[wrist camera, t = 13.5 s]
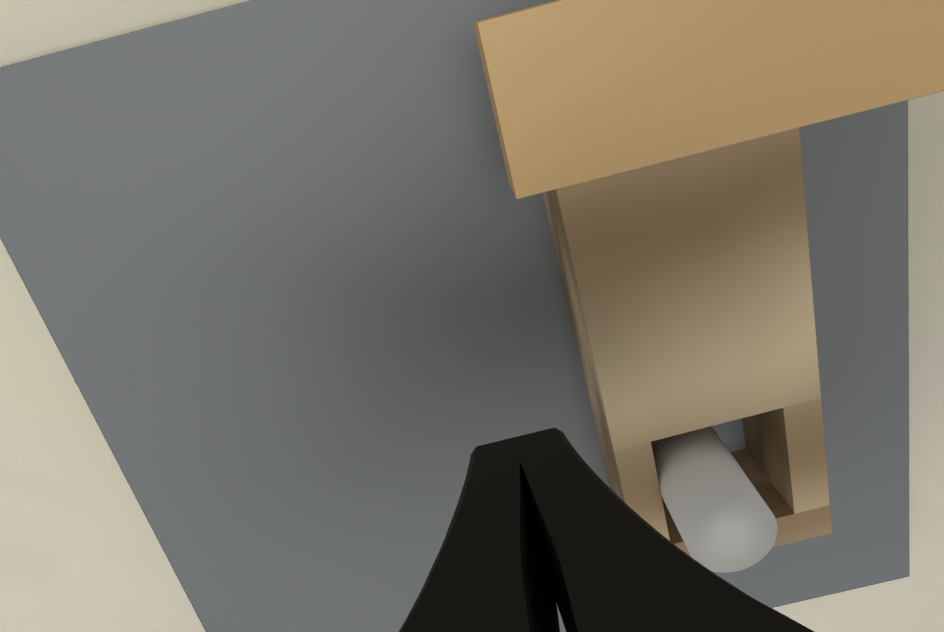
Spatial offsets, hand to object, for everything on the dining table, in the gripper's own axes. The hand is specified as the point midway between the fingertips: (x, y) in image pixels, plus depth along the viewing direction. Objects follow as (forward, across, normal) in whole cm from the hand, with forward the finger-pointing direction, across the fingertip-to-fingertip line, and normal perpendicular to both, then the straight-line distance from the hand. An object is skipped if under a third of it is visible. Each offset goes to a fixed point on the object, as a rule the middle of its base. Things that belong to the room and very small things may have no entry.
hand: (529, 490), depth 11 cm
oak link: (+8, -4, +1) cm, 10 cm away
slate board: (+9, 0, +2) cm, 10 cm away
